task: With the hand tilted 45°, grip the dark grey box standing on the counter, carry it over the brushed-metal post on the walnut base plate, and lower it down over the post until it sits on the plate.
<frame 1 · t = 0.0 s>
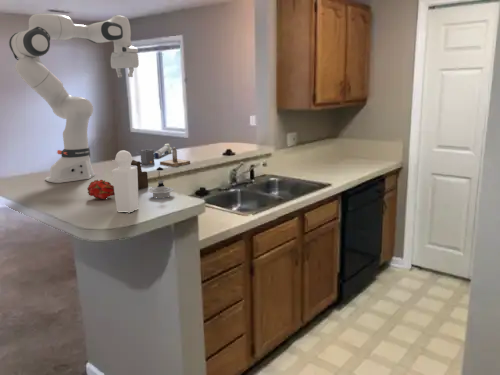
hand: (125, 77, 227), 48 cm above the worktop, tool pointing down, fingers open, 8 cm apart
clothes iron: (133, 187, 193), on the worktop
grey knobbed stem base: (161, 197, 176), on the worktop
post plate: (175, 163, 247), on the worktop
grey dark-ended cylinder: (163, 155, 278), on the worktop
dark grey box: (147, 164, 247), on the worktop
white bottle: (128, 211, 156), on the worktop
dragon fruit: (103, 199, 173), on the worktop
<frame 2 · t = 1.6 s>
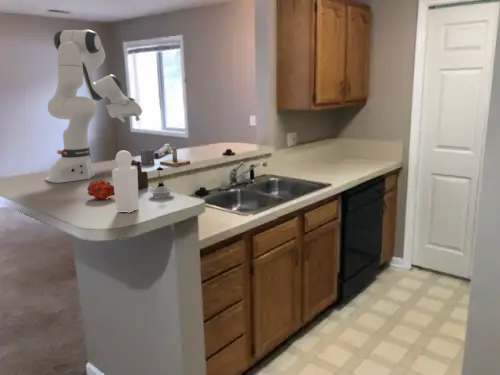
hand: (131, 120, 250), 24 cm above the worktop, tool tilted 45°, fingers open, 8 cm apart
nothing on the worktop moved.
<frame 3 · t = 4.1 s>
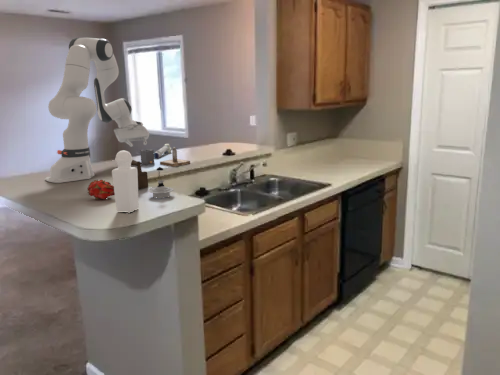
hand: (139, 145, 249), 10 cm above the worktop, tool tilted 45°, fingers open, 8 cm apart
nothing on the worktop moved.
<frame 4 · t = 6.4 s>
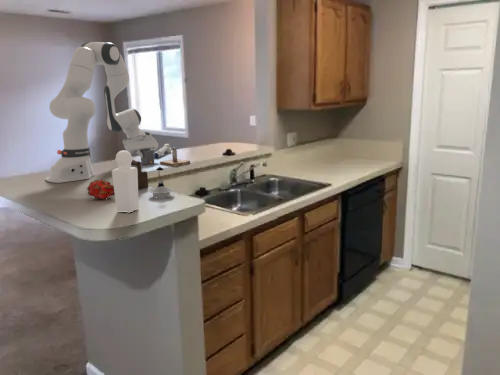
hand: (148, 156, 246), 5 cm above the worktop, tool tilted 45°, fingers closed on dark grey box, 5 cm apart
dark grey box: (147, 164, 247), on the worktop, touching gripper
everything else where it was.
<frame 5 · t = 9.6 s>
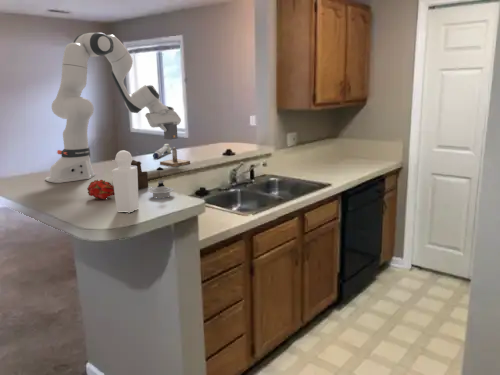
hand: (171, 130, 242), 19 cm above the worktop, tool tilted 45°, fingers closed on dark grey box, 5 cm apart
dark grey box: (171, 138, 244), point 14 cm above the worktop, touching gripper
everything else where it was.
when the fingers open (7 cm above the worktop, at t = 13.0 s): dark grey box stays where it is, resting on post plate.
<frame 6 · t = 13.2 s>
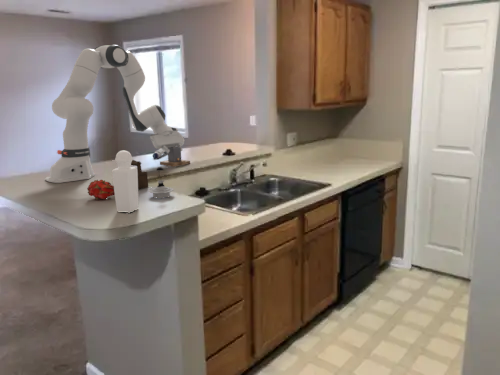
hand: (175, 151, 245), 7 cm above the worktop, tool tilted 45°, fingers open, 7 cm apart
dark grey box: (174, 161, 246), point 1 cm above the worktop, touching post plate
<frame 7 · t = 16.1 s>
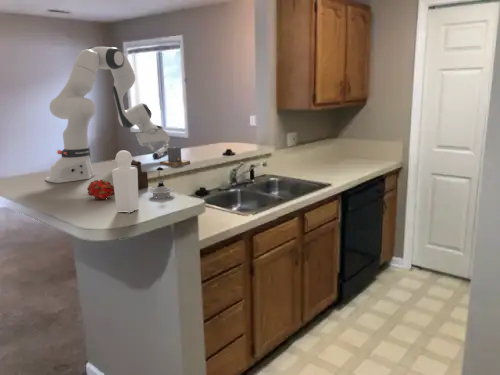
hand: (160, 148, 253), 8 cm above the worktop, tool tilted 45°, fingers open, 8 cm apart
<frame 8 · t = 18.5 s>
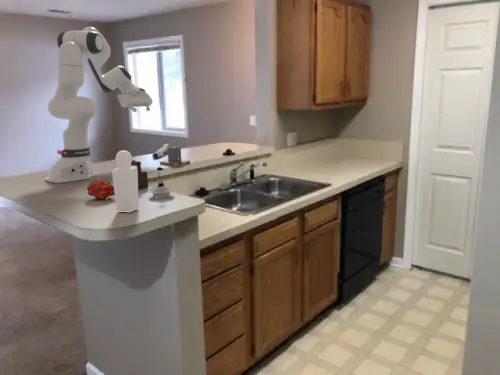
hand: (142, 110, 251), 29 cm above the worktop, tool tilted 45°, fingers open, 8 cm apart
at the end: dark grey box 0.1 cm off-centre on the post plate, point 1.5 cm above the post plate's base; dark grey box tilted 0°; the gripper is holding nothing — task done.
